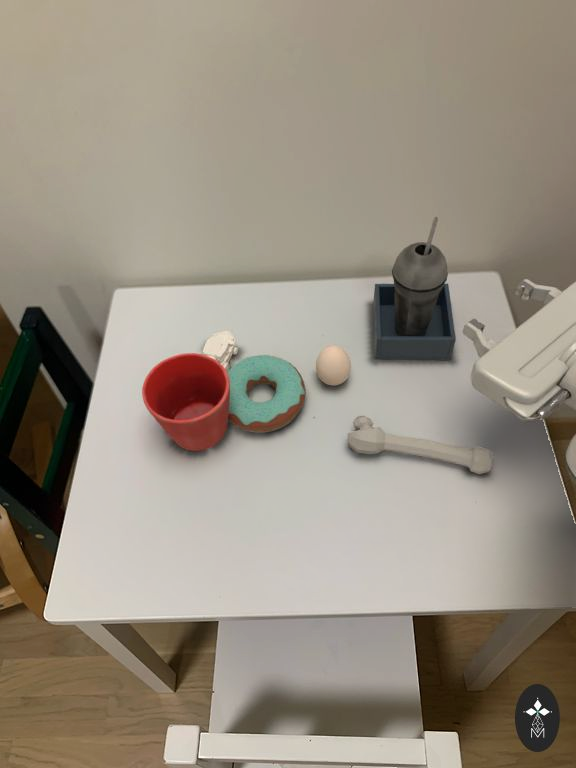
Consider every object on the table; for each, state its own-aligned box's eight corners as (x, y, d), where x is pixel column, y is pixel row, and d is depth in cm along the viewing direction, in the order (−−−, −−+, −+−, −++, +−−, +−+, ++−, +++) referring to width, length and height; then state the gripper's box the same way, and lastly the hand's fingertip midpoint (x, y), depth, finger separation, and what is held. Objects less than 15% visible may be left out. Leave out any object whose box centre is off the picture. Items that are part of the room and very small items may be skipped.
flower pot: (196, 381, 85) (182, 338, 78) (255, 418, 81) (246, 377, 73) (144, 434, 81) (123, 393, 73) (203, 476, 77) (188, 438, 69)
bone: (343, 454, 77) (343, 440, 74) (354, 421, 80) (354, 406, 77) (484, 493, 73) (491, 479, 70) (490, 457, 76) (497, 442, 73)
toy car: (192, 377, 86) (187, 359, 83) (213, 336, 90) (209, 317, 87) (223, 384, 85) (218, 367, 82) (243, 342, 89) (239, 324, 86)
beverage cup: (376, 322, 89) (385, 214, 73) (416, 304, 91) (435, 194, 74) (403, 355, 85) (420, 249, 69) (445, 335, 87) (471, 227, 70)
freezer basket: (443, 304, 91) (448, 283, 87) (450, 360, 85) (455, 339, 81) (373, 304, 92) (374, 283, 88) (375, 359, 86) (376, 339, 82)
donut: (204, 395, 84) (199, 379, 81) (273, 353, 88) (270, 335, 84) (252, 454, 78) (248, 438, 75) (323, 406, 82) (323, 389, 78)
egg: (316, 394, 83) (315, 365, 77) (315, 366, 86) (314, 336, 80) (351, 392, 83) (352, 363, 77) (349, 365, 85) (350, 335, 80)
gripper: (526, 443, 64) (430, 367, 71) (636, 343, 71) (539, 282, 77) (543, 412, 59) (437, 332, 65) (660, 307, 65) (554, 245, 72)
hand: (493, 304), depth 71 cm, fingers open, 8 cm apart
